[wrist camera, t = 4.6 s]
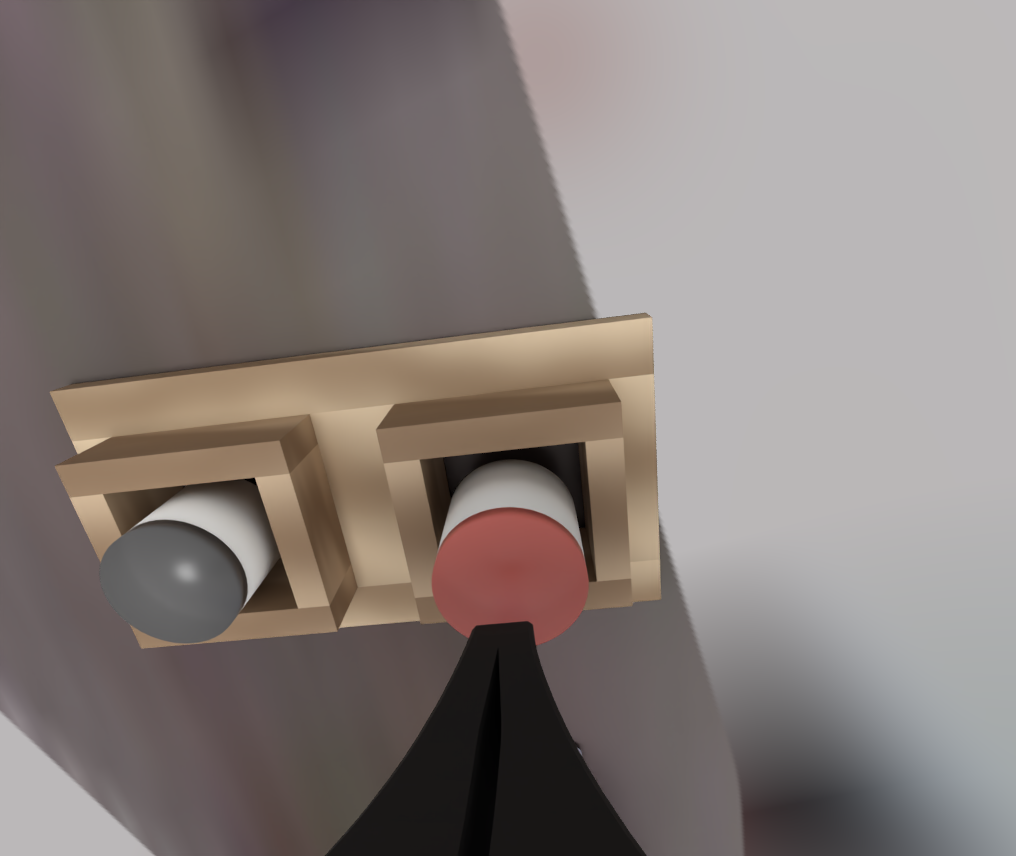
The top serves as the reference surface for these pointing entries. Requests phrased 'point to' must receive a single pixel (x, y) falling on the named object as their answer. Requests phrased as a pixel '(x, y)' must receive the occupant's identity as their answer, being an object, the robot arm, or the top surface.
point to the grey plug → (191, 562)
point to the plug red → (511, 552)
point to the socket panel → (378, 460)
